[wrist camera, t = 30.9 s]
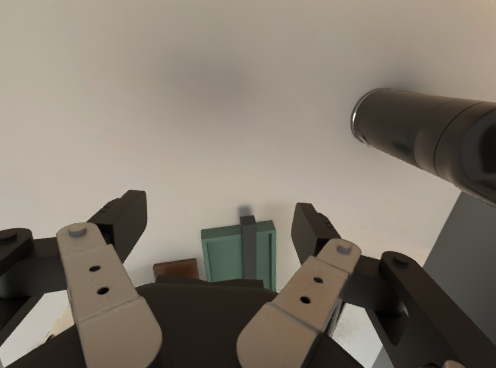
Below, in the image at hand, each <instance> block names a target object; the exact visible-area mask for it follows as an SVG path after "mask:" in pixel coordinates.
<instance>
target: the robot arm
mask: <svg viewBox="0 0 496 368" xmlns="http://www.w3.org/2000/svg"><path fill="white" fill-rule="evenodd" d="M351 129H352V132H353V134H354V136H355V137H356V138H357V139H358V140H359V141H360V142H362V143H365V144H366V145H367V146H369V145H370V146H372V147H374V148H376V149H379V150H381V151H383V152H385V153H387V154H389V155H392V156H394V157H396V158H398V159H400V160H402V161H405V162H407V163H409V164H411V165H413V166H415V167H418V168H420V169H422V170H424V171H427V172H429V173H431V174H433V175H435V176H437V177H440V178H442V179H444V180H446V181H448V182H450V183H453V184H454V185H455V186H456V187H457V188H459V189H460V190H462V191H464V192H466V193H468V194H470V195H472V196H474V197H476V198H478V199H480V200H482V201H484V202H486V203H488V204H489V205H492V206H493V207H495V208H496V103H495V102H486V101H478V100H470V99H460V98H452V97H444V96H436V95H428V94H420V93H412V92H404V91H396V90H391V89H385V88H380V89H376V90H373V91H371V92H369V93H367V94H366V95H365V96H364V97H363V98H362V99H361V100H360V101H359V102H358V103H357V105H356V107H355V109H354V111H353V114H352V118H351ZM370 146H369V147H370ZM146 225H147V201H146V193H145V191H139V190H128V191H127V192H126V193H125V194H124V195H123V196H122V197H121V198H117V199H114V200H112V201H110V202H108V203H107V204H106V205H105V206H104V207H103V208H101V209H100V210H99V211H98V212H97V213H96V214H95V215H94V216H92V217H91V218H90V219H89V220H88V221H87V222H83V223H75V224H71V225H68V226H66V227H64V228H62V229H60V230H59V231H58V232H57V234H56V237H52V238H43V239H33V236H32V232H31V230H29V229H25V228H12V229H7V230H2V231H0V346H1V345H2V344H3V343H4V342H5V340H6V339H7V338H8V337H9V336H10V334H11V333H12V332H13V331H14V330H15V328H16V327H17V326H18V325H19V324H20V323H21V321H22V320H23V319H24V318H25V317H26V315H27V314H28V313H29V312H30V311H31V309H32V308H33V307H34V306H35V305H36V304H37V302H38V301H39V300H40V299H41V298H42V296H43V295H44V293H50V292H56V291H61V290H67V294H68V299H69V303H70V308H71V313H72V317H73V322H74V325H72V326H71V327H69V328H68V329H66V330H64V331H63V332H61V333H60V334H58V335H56V336H55V337H53V338H52V339H50V340H48V341H47V342H45V343H44V344H42V345H40V346H39V347H37V348H36V349H34V350H32V351H31V352H29V353H28V354H26V355H24V356H23V357H21V358H20V359H18V360H16V361H15V362H13V363H12V364H10V365H8V366H7V367H5V368H364V367H363V366H362V365H361V364H360V363H359V362H358V361H357V360H355V359H354V358H353V357H352V356H351V355H350V354H349V353H348V352H347V351H345V350H344V349H343V348H342V347H341V346H340V345H339V344H338V343H337V342H335V341H334V340H333V339H332V335H333V333H334V330H335V328H336V326H337V324H338V321H339V319H340V317H341V314H342V312H343V310H344V308H345V305H346V303H349V304H352V305H356V306H359V307H363V308H365V310H366V312H367V314H368V316H369V318H370V320H371V322H372V324H373V326H374V328H375V330H376V332H377V334H378V336H379V338H380V340H381V342H382V344H383V346H384V348H385V350H386V352H387V354H388V356H389V358H390V360H391V362H392V364H393V366H394V368H496V346H495V345H494V344H493V343H492V342H491V341H490V339H489V338H488V337H487V336H486V335H485V334H484V333H483V332H482V331H481V330H480V329H479V328H478V327H477V326H476V325H475V324H474V323H473V321H472V320H471V319H470V318H469V317H468V316H467V315H466V314H465V313H464V312H463V311H462V310H461V309H460V308H459V307H458V306H457V304H455V302H454V301H453V300H452V299H451V298H450V297H449V296H448V295H447V294H446V293H445V292H444V291H443V290H442V289H441V288H440V286H439V285H438V284H437V283H436V282H435V281H434V280H433V279H432V278H431V277H430V276H429V275H428V274H427V273H426V272H425V271H424V270H423V268H422V267H421V266H420V265H419V264H418V263H417V262H416V261H415V260H413V259H412V258H410V257H408V256H406V255H404V254H402V253H398V252H394V251H386V252H384V253H383V254H382V256H381V259H380V260H378V259H374V258H370V257H366V256H363V255H361V250H360V248H359V247H358V246H357V245H355V244H354V243H352V242H350V241H347V240H344V239H342V238H341V237H340V235H339V234H338V232H337V231H336V229H334V227H333V225H332V224H331V222H330V221H329V219H328V218H327V217H326V216H324V215H323V214H321V213H317V212H316V210H315V208H314V207H313V205H312V204H311V203H297V204H296V207H295V212H294V218H293V223H292V229H291V237H292V241H293V244H294V247H295V249H296V252H297V255H298V258H299V260H300V263H301V267H300V268H299V270H298V271H297V272H296V273H295V274H294V276H293V277H292V278H291V279H290V281H289V282H288V283H287V284H286V285H285V287H284V288H283V289H282V290H281V291H280V293H277V292H275V291H273V290H270V289H267V288H264V283H263V280H255V279H232V280H224V281H217V282H207V281H203V280H199V279H195V278H191V277H187V276H176V275H158V276H157V279H156V281H155V283H150V284H145V285H142V286H139V287H136V288H135V287H134V285H133V284H132V282H131V280H130V278H129V276H128V274H127V272H126V270H125V268H124V266H123V263H124V261H125V260H126V258H127V257H128V255H129V254H130V252H131V251H132V249H133V247H134V246H135V244H136V243H137V241H138V240H139V238H140V237H141V235H142V234H143V232H144V230H145V228H146ZM405 306H406V308H407V311H408V316H409V317H408V316H407V314H406V313H405V311H404V308H405Z"/></svg>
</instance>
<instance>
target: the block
mask: <svg viewBox="0 0 496 368" xmlns="http://www.w3.org/2000/svg"><path fill="white" fill-rule="evenodd" d="M240 227H241V250H242V272H243V279H255V280H257V224H256V221H255V218H254V215H252V216H244V217H240Z"/></svg>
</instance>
